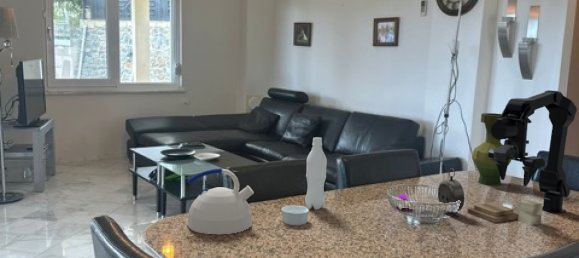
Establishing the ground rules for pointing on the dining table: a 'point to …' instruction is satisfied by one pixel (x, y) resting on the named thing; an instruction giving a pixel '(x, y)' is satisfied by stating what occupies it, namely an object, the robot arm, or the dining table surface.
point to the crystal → (403, 197)
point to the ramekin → (295, 215)
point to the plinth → (493, 219)
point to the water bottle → (316, 175)
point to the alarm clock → (451, 191)
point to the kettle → (220, 208)
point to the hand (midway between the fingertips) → (513, 182)
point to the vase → (480, 153)
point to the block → (530, 212)
